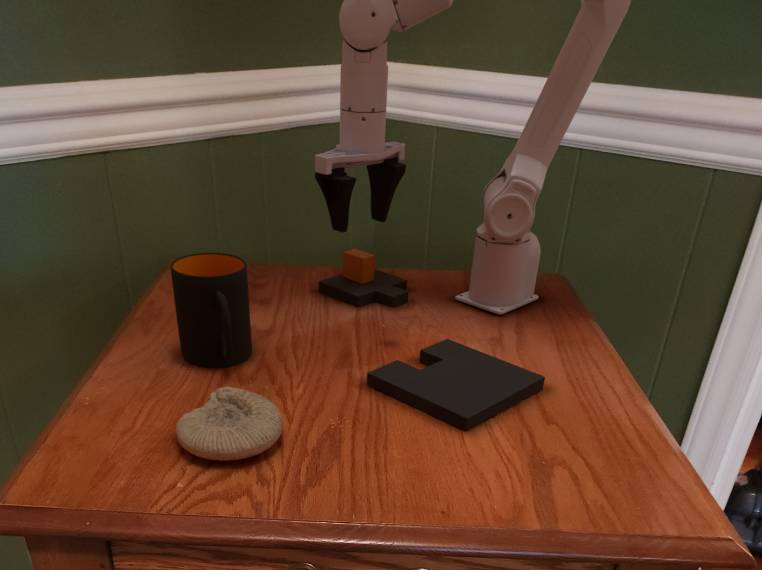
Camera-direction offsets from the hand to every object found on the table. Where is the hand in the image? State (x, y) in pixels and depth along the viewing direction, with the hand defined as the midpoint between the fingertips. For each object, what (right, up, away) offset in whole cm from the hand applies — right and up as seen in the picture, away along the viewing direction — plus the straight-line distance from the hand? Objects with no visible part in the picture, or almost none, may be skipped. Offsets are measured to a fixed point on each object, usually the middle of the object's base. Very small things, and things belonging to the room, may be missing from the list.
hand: (359, 225), depth 98 cm
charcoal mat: (+11, -25, -17) cm, 32 cm away
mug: (-16, -21, -13) cm, 30 cm away
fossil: (-13, -33, -27) cm, 44 cm away
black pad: (+2, -7, +5) cm, 9 cm away
